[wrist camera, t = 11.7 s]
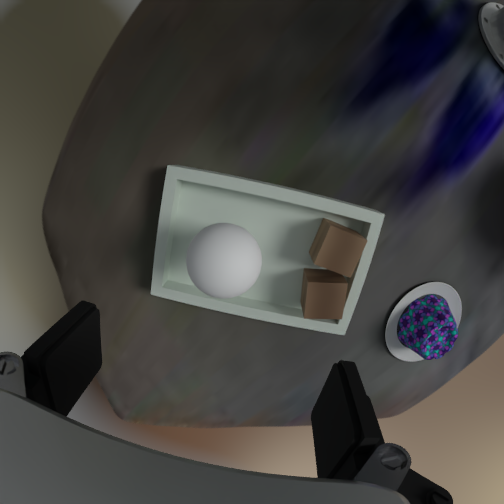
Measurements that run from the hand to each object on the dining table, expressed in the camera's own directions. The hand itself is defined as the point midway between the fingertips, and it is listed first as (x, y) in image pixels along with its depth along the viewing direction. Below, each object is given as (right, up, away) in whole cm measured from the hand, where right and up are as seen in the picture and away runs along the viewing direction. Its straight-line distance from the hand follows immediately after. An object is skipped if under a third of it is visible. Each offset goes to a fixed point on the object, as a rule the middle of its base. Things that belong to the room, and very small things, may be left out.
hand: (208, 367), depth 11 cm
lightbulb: (0, +6, +22) cm, 23 cm away
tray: (+3, +5, +23) cm, 23 cm away
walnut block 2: (+9, +1, +23) cm, 25 cm away
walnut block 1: (+10, +5, +21) cm, 24 cm away
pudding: (+24, -5, +25) cm, 35 cm away
